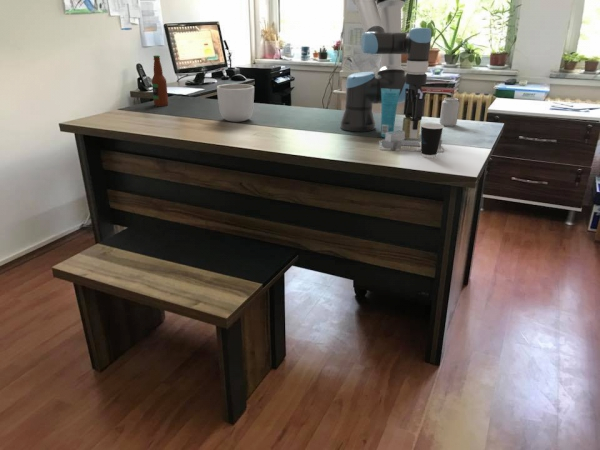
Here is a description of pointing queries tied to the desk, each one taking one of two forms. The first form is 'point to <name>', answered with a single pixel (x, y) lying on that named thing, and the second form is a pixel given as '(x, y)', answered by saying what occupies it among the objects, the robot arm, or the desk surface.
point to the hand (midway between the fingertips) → (410, 136)
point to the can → (449, 112)
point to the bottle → (159, 84)
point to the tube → (388, 109)
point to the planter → (236, 101)
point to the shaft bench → (401, 142)
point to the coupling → (407, 127)
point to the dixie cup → (430, 139)
